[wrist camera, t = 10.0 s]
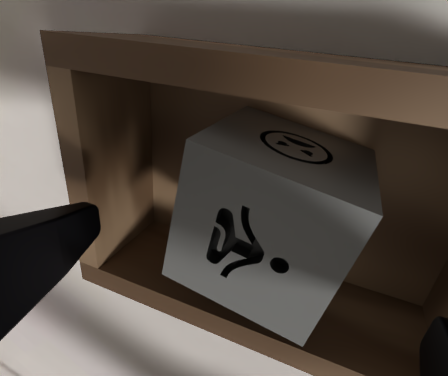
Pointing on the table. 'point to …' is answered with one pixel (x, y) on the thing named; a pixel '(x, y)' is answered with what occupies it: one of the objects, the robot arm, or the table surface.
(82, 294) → the table surface
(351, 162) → the dice cube
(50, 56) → the open wooden box
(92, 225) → the robot arm
